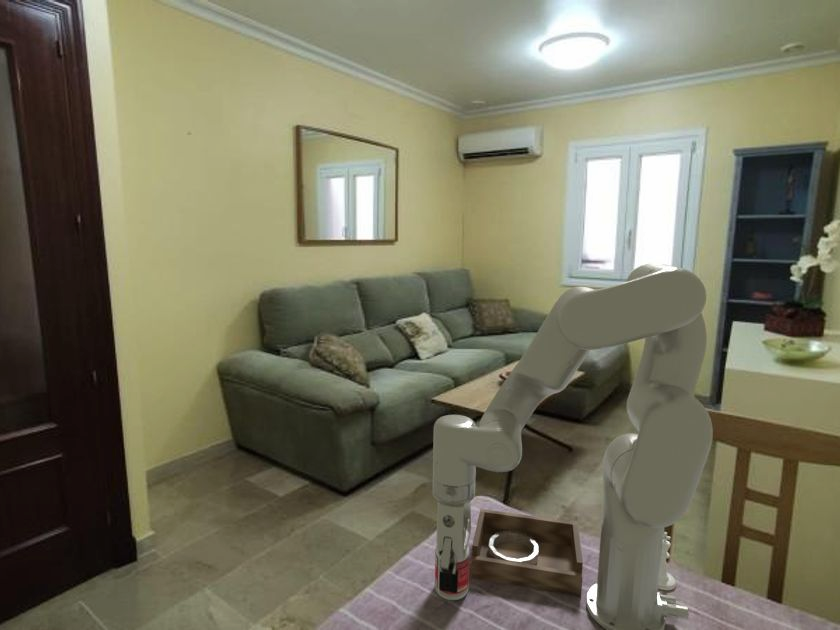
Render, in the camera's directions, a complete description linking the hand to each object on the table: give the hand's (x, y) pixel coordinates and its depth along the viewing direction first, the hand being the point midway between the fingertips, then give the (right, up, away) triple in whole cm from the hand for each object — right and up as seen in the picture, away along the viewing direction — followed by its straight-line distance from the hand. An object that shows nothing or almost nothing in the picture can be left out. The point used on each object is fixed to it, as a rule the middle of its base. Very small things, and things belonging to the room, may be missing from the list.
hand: (451, 576), depth 89 cm
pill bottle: (0, -3, 0) cm, 3 cm away
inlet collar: (+13, -1, +9) cm, 16 cm away
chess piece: (+40, -3, +3) cm, 40 cm away
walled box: (+15, -2, +8) cm, 17 cm away
